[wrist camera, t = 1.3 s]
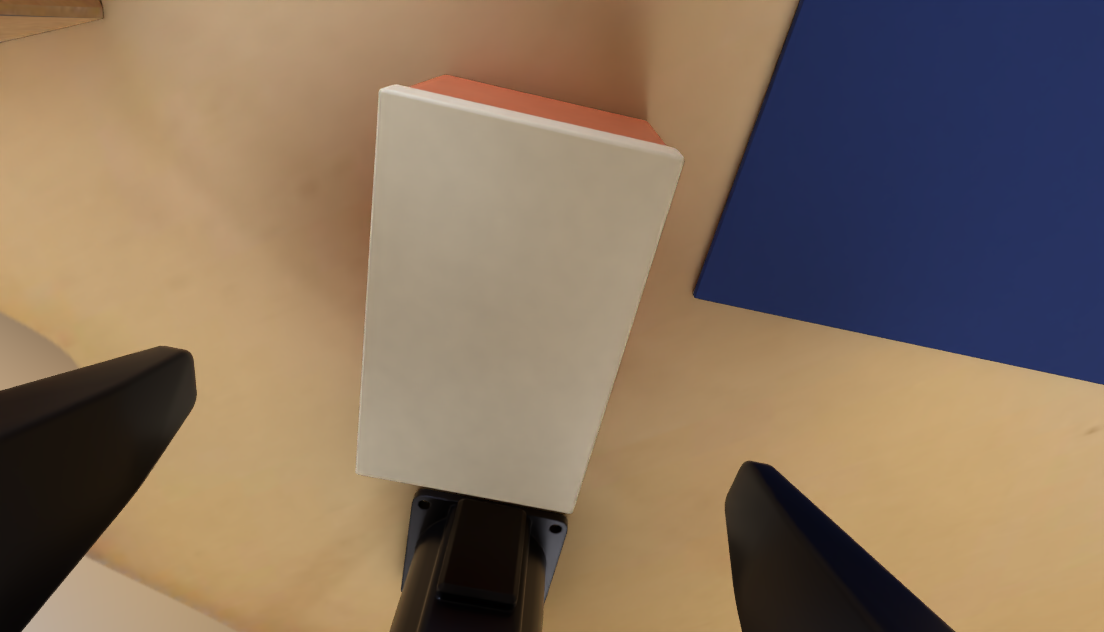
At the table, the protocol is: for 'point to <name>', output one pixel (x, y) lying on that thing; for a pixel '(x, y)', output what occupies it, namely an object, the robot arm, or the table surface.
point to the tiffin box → (502, 285)
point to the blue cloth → (929, 180)
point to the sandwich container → (44, 16)
